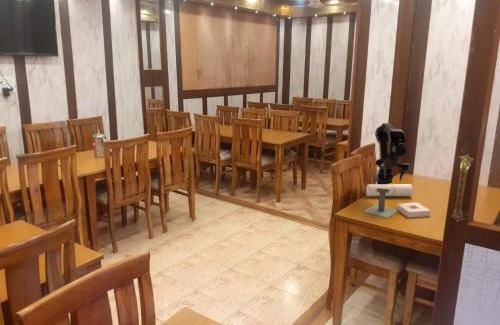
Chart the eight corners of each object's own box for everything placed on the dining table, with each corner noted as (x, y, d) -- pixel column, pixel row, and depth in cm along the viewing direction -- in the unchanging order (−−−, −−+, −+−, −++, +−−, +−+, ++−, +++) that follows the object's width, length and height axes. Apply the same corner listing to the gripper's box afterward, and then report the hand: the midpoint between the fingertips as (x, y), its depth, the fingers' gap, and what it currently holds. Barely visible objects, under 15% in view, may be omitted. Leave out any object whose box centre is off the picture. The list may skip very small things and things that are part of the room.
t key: (375, 208, 208) (377, 187, 205) (387, 210, 206) (388, 188, 203) (375, 210, 206) (376, 189, 203) (386, 212, 204) (388, 190, 201)
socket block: (396, 208, 210) (396, 203, 209) (416, 207, 211) (417, 202, 211) (408, 217, 198) (408, 212, 197) (429, 216, 200) (430, 210, 199)
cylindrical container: (407, 185, 233) (365, 185, 233) (412, 182, 226) (369, 183, 226) (408, 197, 231) (366, 197, 231) (413, 195, 224) (370, 195, 224)
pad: (363, 212, 206) (364, 210, 206) (374, 205, 215) (374, 204, 215) (387, 218, 197) (387, 217, 197) (397, 211, 207) (398, 210, 206)
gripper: (372, 152, 215) (370, 179, 219) (405, 157, 203) (403, 185, 206) (380, 148, 223) (378, 175, 227) (413, 153, 210) (410, 181, 214)
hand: (392, 179), depth 218 cm, fingers open, 9 cm apart
